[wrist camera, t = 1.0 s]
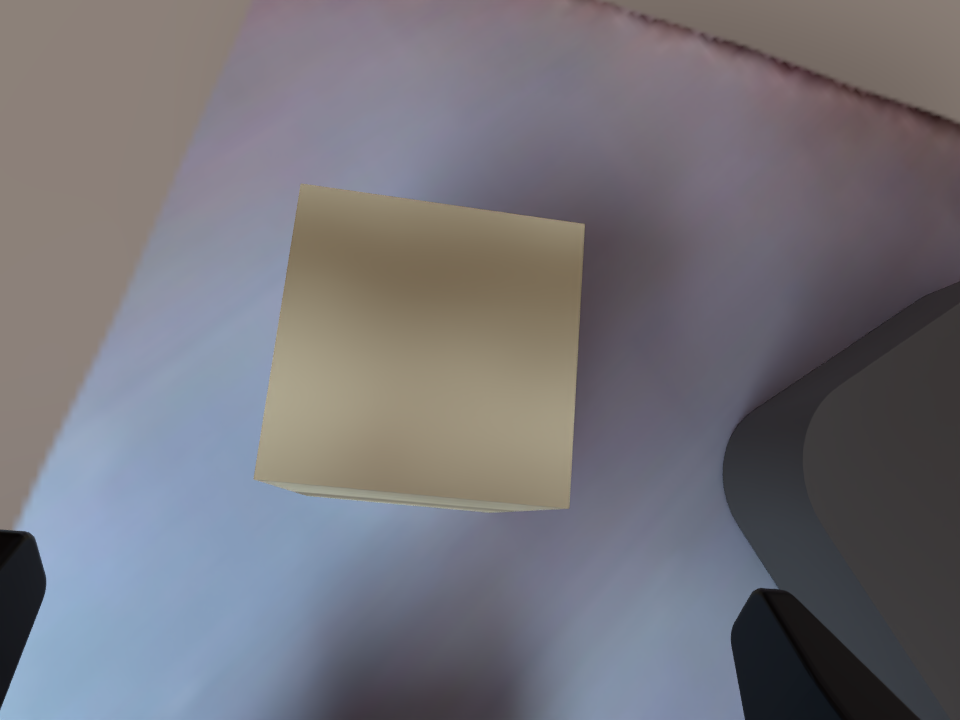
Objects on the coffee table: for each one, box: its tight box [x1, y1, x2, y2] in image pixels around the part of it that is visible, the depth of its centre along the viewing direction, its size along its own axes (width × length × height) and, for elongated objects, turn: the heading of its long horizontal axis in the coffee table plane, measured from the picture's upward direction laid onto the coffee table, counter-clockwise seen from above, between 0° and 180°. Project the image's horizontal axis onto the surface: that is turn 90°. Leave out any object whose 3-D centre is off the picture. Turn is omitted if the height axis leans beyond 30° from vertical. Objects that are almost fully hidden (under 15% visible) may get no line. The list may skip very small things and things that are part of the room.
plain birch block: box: [254, 184, 585, 513], centre depth 19 cm, size 6×6×10 cm
